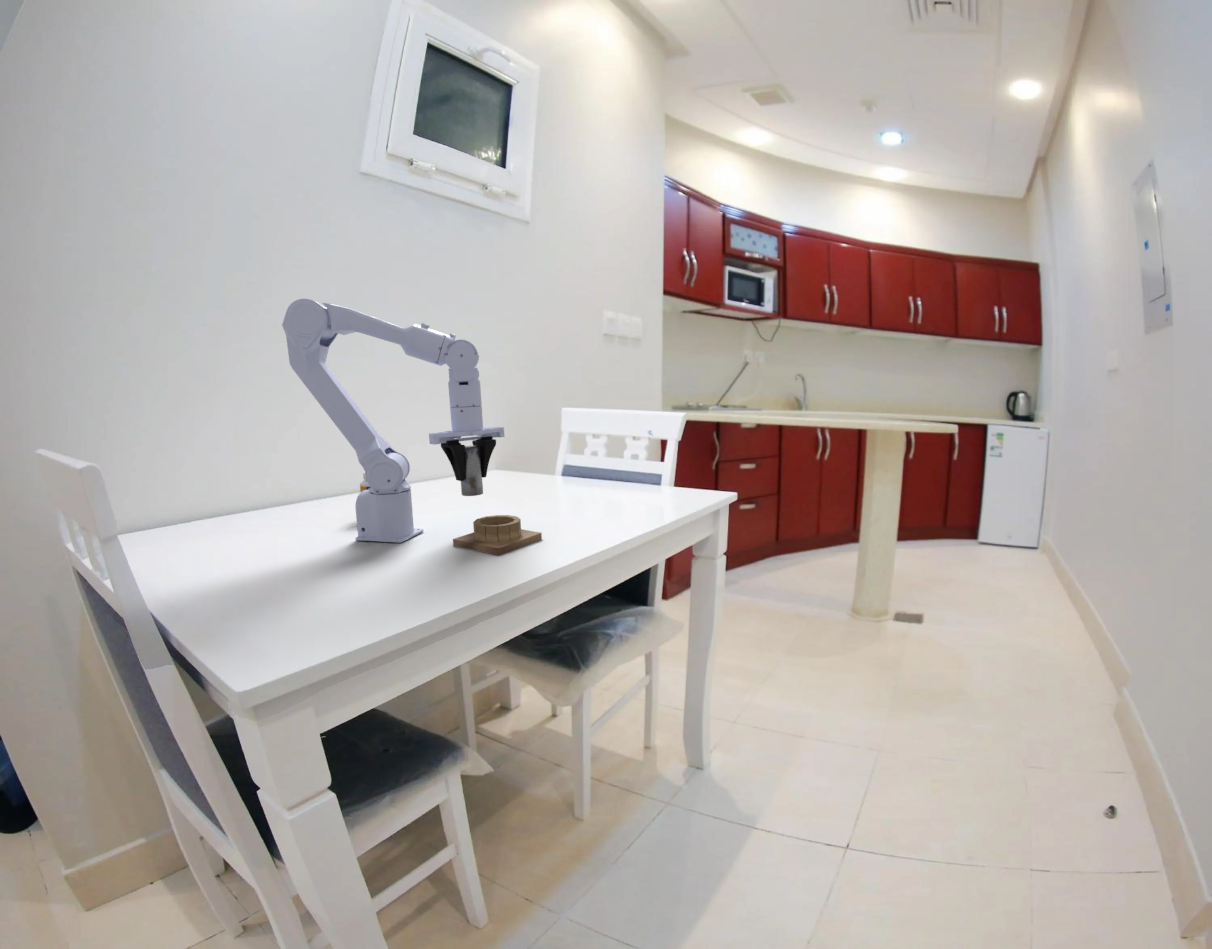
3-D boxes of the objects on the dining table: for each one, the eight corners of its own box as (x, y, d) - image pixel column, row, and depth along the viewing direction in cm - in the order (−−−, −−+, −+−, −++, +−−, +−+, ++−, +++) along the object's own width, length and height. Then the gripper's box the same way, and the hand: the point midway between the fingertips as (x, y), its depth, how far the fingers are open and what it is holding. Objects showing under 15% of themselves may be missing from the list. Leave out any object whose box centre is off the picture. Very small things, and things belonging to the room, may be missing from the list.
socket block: (453, 545, 99) (451, 523, 98) (497, 531, 108) (496, 510, 107) (499, 555, 93) (497, 531, 92) (541, 539, 102) (540, 517, 101)
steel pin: (457, 495, 105) (454, 448, 104) (467, 491, 109) (464, 445, 108) (477, 496, 104) (474, 448, 103) (486, 491, 108) (483, 445, 107)
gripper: (438, 409, 96) (445, 486, 99) (511, 404, 106) (515, 475, 108) (421, 408, 101) (427, 482, 104) (491, 404, 111) (496, 471, 113)
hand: (471, 478), depth 106 cm, fingers closed on steel pin, 4 cm apart
